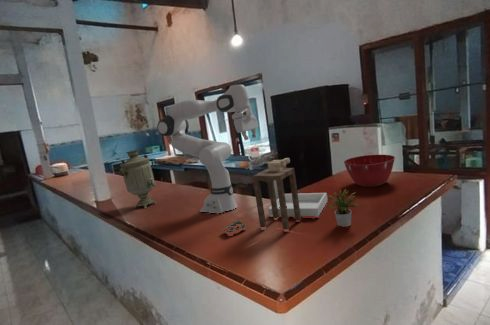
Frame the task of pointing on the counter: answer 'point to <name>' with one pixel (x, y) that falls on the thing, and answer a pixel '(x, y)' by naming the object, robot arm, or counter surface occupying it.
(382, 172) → the mixing bowl
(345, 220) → the house plant
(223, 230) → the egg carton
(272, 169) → the mallet
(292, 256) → the counter surface
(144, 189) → the samovar
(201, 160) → the robot arm
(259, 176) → the walnut stand
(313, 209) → the grey tray
